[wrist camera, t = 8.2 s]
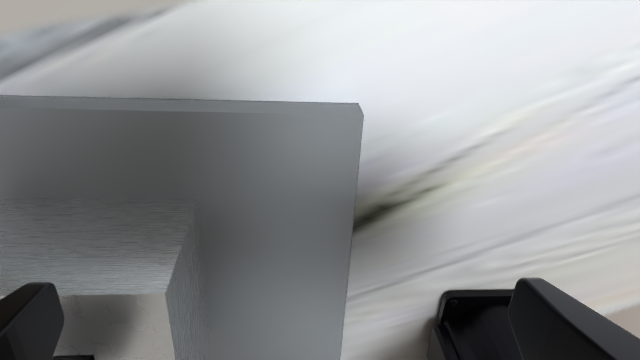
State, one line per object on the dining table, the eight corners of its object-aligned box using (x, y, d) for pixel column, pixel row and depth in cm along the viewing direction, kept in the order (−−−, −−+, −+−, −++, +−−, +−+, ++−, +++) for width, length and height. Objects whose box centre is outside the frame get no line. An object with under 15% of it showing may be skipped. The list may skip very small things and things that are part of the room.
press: (197, 198, 19) (164, 293, 14) (210, 330, 23) (188, 444, 18) (5, 197, 19) (-104, 297, 14) (50, 333, 23) (-22, 452, 17)
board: (358, 103, 20) (363, 115, 18) (335, 356, 27) (338, 377, 26) (-188, 91, 18) (-226, 103, 16) (-50, 366, 25) (-68, 389, 24)
